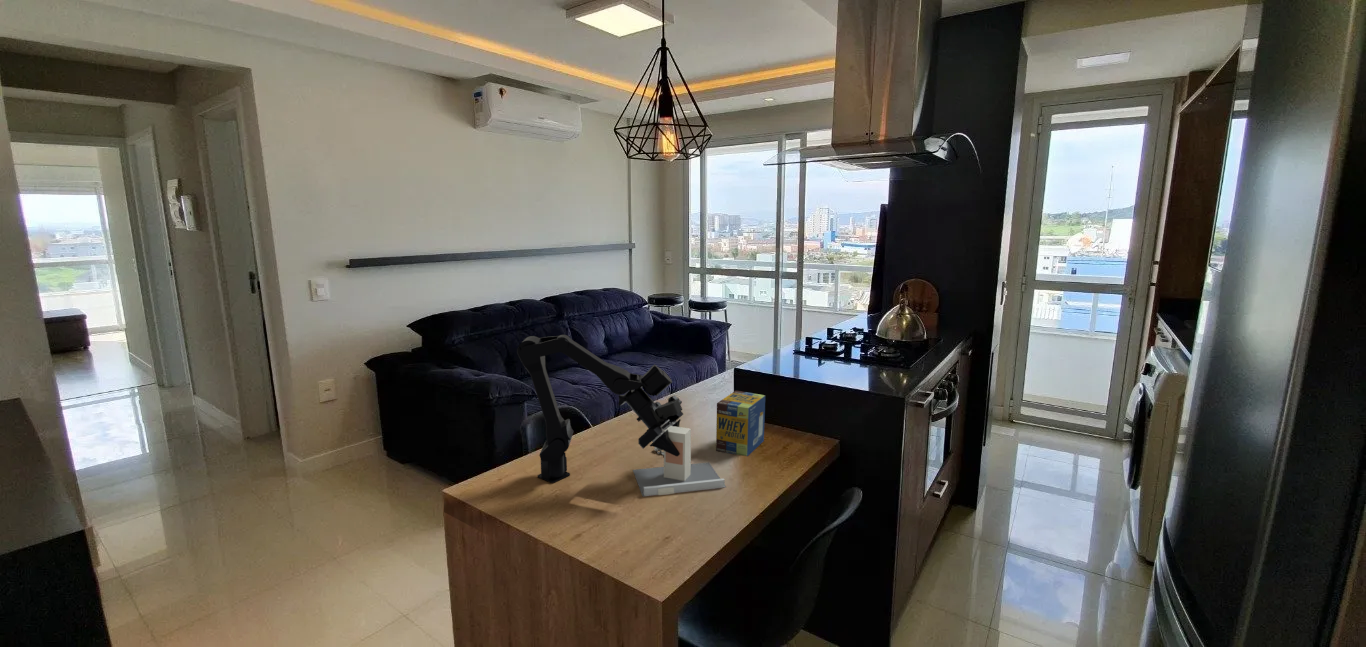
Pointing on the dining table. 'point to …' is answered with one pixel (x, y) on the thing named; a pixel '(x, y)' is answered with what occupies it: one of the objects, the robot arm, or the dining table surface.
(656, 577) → the dining table surface
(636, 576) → the dining table surface
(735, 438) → the protein box
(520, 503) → the dining table surface
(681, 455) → the tea box
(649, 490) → the shelf board
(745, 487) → the dining table surface
